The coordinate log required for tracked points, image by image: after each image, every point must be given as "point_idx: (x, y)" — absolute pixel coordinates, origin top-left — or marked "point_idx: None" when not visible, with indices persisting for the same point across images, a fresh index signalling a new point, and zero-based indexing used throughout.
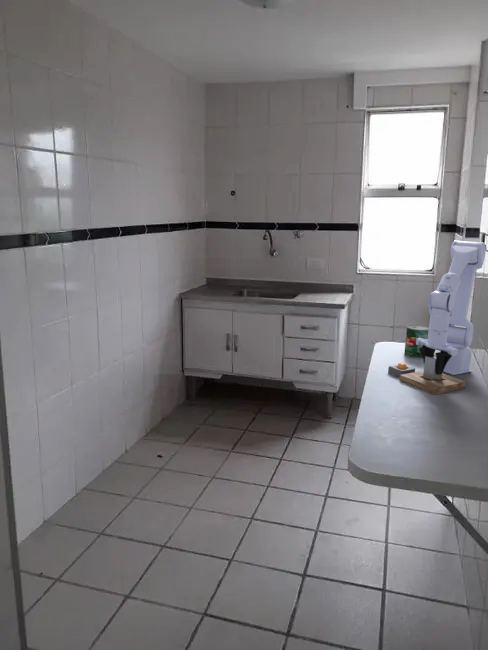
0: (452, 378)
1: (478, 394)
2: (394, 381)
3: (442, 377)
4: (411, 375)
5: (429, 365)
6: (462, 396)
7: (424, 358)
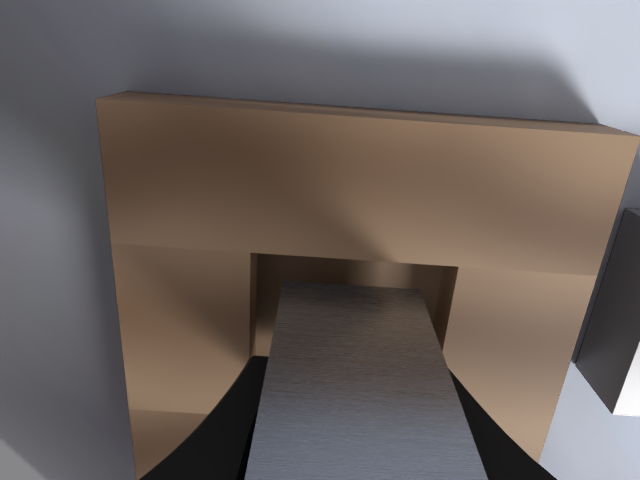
0: None
1: (5, 414)
2: (631, 54)
3: None
4: (535, 235)
5: (359, 383)
6: (2, 277)
7: (504, 468)
